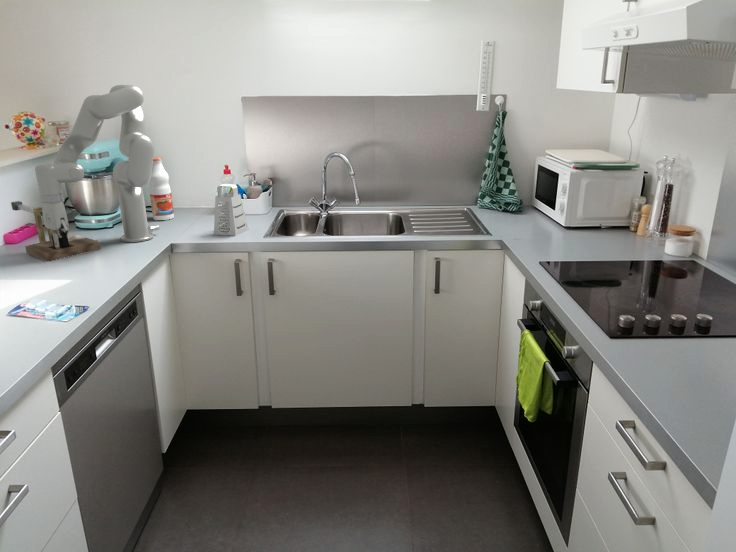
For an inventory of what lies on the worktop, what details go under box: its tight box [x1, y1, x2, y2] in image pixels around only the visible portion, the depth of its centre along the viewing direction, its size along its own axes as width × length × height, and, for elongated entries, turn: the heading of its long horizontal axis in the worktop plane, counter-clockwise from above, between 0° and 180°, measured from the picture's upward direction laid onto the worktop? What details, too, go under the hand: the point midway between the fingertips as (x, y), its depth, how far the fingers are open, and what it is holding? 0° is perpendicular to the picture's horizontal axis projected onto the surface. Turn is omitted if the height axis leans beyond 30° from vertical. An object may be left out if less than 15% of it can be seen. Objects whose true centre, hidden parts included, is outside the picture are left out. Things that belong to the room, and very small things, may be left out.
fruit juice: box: [148, 157, 175, 221], centre depth 270 cm, size 9×9×28 cm
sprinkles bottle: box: [52, 227, 68, 250], centre depth 220 cm, size 5×5×13 cm
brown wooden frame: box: [24, 206, 101, 262], centre depth 223 cm, size 20×17×16 cm
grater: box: [213, 183, 249, 237], centre depth 247 cm, size 10×10×20 cm
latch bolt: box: [10, 200, 43, 217], centre depth 230 cm, size 3×26×3 cm, turn 52°
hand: (61, 245), depth 221 cm, fingers closed on sprinkles bottle, 4 cm apart
